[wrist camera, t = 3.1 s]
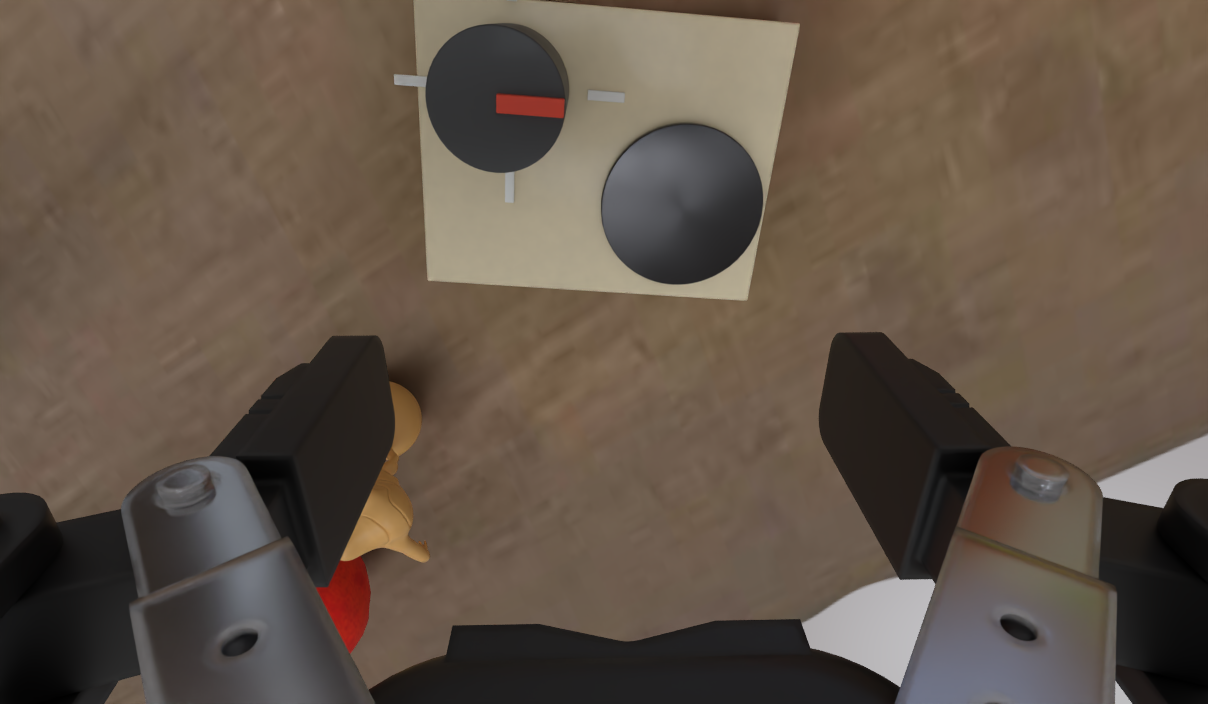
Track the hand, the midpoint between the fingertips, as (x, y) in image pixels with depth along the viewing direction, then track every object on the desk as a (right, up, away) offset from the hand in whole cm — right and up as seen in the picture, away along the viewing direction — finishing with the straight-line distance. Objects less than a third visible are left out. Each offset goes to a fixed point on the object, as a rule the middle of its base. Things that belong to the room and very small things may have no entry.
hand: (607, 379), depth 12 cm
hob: (0, +9, +17) cm, 19 cm away
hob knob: (-4, +10, +13) cm, 17 cm away
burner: (+3, +7, +15) cm, 17 cm away
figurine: (-10, -2, +22) cm, 25 cm away
